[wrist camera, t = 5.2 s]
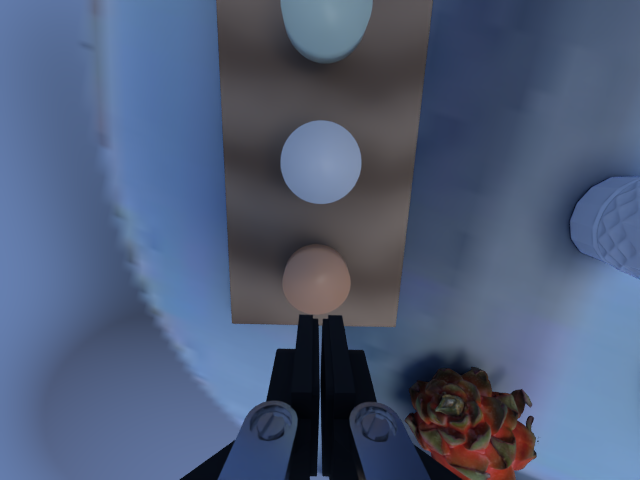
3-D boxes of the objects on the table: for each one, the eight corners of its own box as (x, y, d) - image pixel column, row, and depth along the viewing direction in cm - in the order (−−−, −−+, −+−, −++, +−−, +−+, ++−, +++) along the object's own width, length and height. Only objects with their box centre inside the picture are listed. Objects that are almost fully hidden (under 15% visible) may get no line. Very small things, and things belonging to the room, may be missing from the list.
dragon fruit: (395, 343, 28) (480, 383, 32) (370, 443, 25) (467, 475, 28) (474, 355, 21) (574, 406, 24) (453, 499, 17) (571, 534, 21)
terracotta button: (286, 237, 21) (282, 250, 18) (347, 239, 21) (352, 252, 18) (286, 293, 22) (282, 313, 19) (344, 295, 22) (348, 315, 20)
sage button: (286, -20, 16) (280, -59, 13) (365, -16, 16) (376, -53, 14) (286, 69, 17) (280, 51, 15) (360, 72, 18) (369, 55, 15)
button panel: (223, -46, 19) (212, -69, 17) (426, -35, 19) (439, -57, 17) (238, 310, 25) (232, 323, 23) (389, 314, 26) (395, 327, 24)
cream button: (285, 125, 18) (280, 118, 15) (356, 128, 18) (364, 121, 15) (285, 196, 19) (280, 202, 17) (352, 198, 20) (358, 205, 17)
